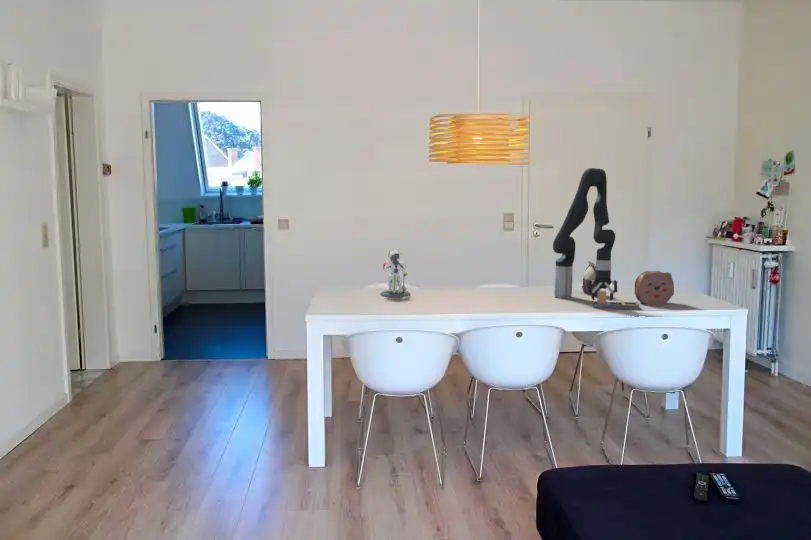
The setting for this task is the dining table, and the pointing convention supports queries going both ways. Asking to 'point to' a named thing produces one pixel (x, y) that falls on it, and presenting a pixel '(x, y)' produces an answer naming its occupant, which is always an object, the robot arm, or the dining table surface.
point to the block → (601, 297)
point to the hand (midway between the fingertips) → (602, 300)
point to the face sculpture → (654, 287)
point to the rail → (617, 305)
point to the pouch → (589, 278)
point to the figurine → (395, 276)
